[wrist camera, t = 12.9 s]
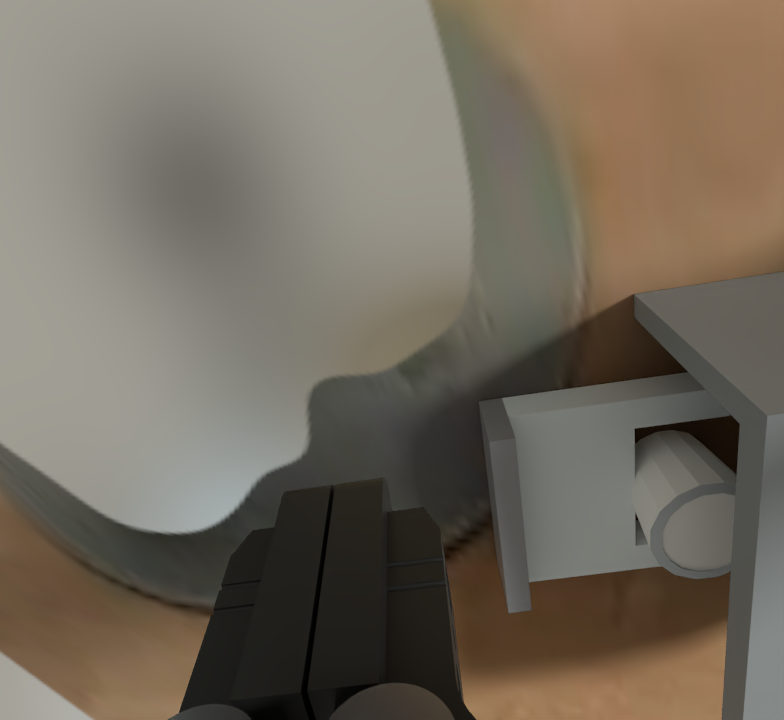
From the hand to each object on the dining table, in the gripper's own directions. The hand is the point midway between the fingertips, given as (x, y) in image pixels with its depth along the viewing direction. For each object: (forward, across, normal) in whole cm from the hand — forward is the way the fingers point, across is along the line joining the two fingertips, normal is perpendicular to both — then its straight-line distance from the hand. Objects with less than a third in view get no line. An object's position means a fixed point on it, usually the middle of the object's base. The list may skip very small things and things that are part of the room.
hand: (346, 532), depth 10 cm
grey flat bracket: (+29, -14, +20) cm, 38 cm away
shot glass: (+29, -16, +20) cm, 39 cm away
